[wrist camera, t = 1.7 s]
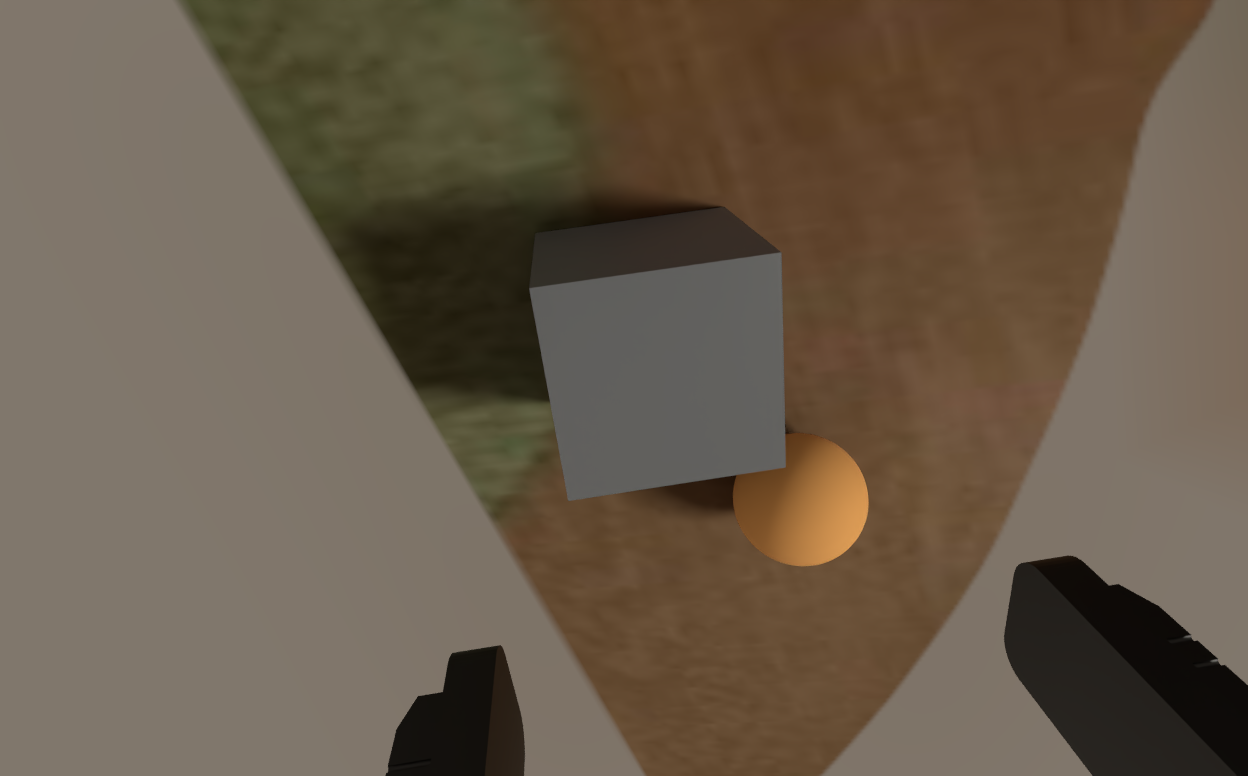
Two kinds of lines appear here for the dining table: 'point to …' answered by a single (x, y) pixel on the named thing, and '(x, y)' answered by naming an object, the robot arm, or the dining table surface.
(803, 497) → the ball
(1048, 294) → the dining table surface
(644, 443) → the matte gray cube
